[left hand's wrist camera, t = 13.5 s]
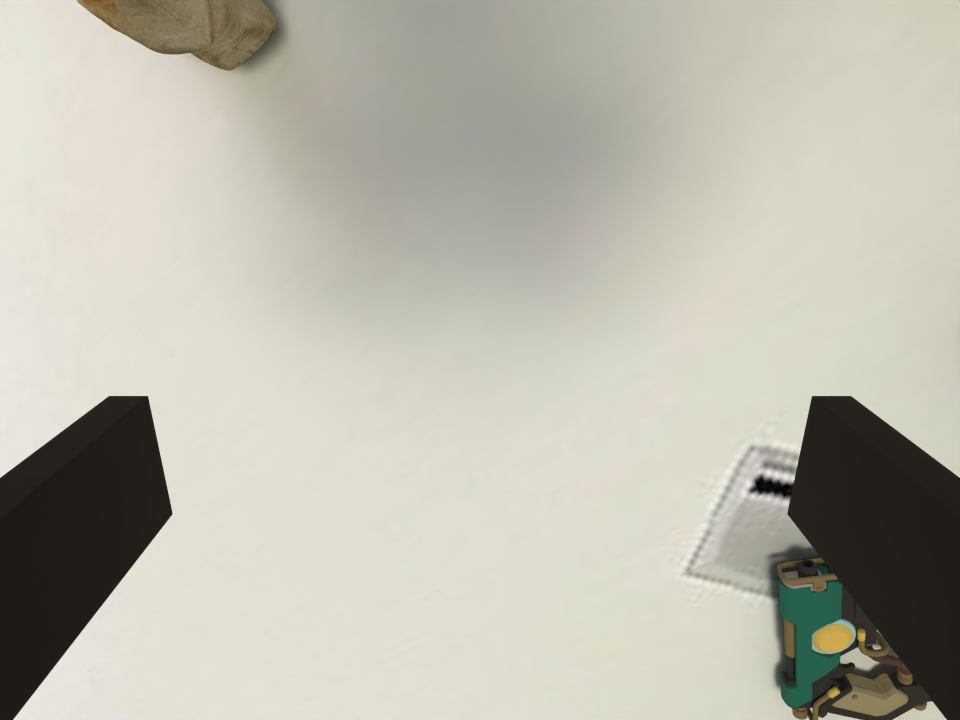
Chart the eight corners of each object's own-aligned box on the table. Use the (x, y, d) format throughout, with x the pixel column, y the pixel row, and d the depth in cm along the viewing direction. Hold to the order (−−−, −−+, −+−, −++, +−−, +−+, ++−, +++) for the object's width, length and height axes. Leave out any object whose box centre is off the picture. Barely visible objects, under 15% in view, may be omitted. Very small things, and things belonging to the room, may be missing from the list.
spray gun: (899, 700, 54) (723, 686, 54) (977, 547, 47) (774, 531, 47) (929, 749, 50) (740, 734, 50) (1019, 591, 43) (798, 573, 43)
